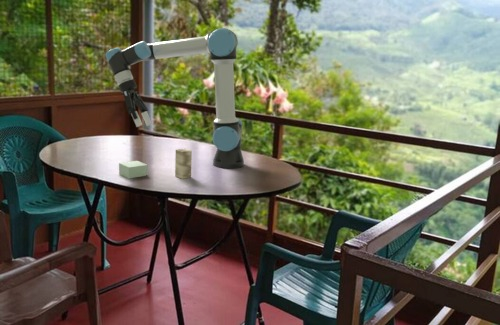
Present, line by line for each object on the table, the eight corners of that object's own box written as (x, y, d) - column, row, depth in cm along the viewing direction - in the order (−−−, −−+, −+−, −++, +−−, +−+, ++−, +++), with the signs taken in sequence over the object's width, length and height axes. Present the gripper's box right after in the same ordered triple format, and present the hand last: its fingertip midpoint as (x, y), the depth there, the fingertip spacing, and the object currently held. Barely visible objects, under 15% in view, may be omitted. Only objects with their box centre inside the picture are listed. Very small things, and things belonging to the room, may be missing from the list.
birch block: (184, 174, 230) (185, 148, 227) (191, 177, 226) (191, 150, 224) (175, 176, 227) (175, 149, 224) (181, 178, 223) (182, 151, 220)
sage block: (137, 171, 233) (137, 160, 231) (147, 175, 226) (147, 164, 225) (119, 174, 227) (119, 163, 226) (128, 178, 220) (128, 167, 219)
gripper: (128, 87, 245) (146, 127, 246) (107, 84, 220) (127, 129, 221) (142, 80, 244) (160, 121, 244) (123, 76, 219) (143, 122, 220)
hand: (144, 125), depth 233 cm, fingers open, 13 cm apart
